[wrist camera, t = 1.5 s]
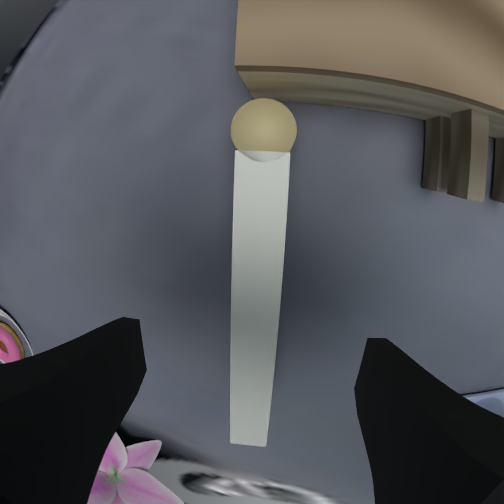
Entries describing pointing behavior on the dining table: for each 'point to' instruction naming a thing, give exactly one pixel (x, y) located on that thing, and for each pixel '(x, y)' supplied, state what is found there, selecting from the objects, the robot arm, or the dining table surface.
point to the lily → (129, 476)
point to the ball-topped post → (257, 260)
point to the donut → (10, 342)
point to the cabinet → (390, 71)
